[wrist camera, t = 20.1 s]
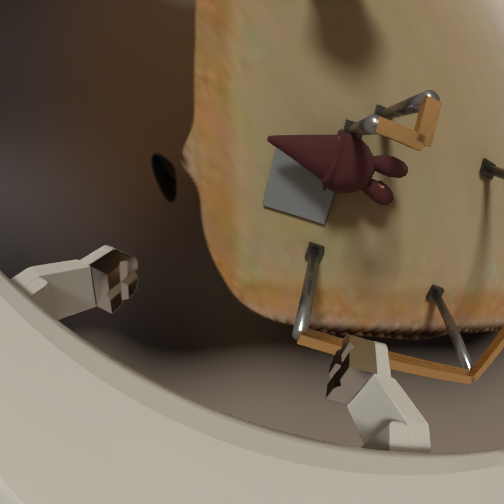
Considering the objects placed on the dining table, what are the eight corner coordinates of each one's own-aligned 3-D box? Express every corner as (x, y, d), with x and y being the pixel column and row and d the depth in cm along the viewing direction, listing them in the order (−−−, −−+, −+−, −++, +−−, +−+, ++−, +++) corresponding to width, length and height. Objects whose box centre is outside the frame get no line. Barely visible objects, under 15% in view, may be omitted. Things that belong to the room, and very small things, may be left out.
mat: (343, 162, 30) (343, 162, 29) (324, 223, 33) (324, 224, 33) (278, 142, 31) (277, 142, 30) (263, 204, 35) (262, 205, 34)
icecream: (270, 152, 32) (384, 193, 31) (251, 182, 27) (389, 231, 26) (281, 100, 27) (407, 146, 25) (263, 119, 22) (420, 178, 21)
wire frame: (493, 164, 23) (578, 197, 8) (436, 299, 33) (472, 387, 18) (351, 96, 26) (375, 57, 11) (305, 255, 36) (283, 343, 21)
